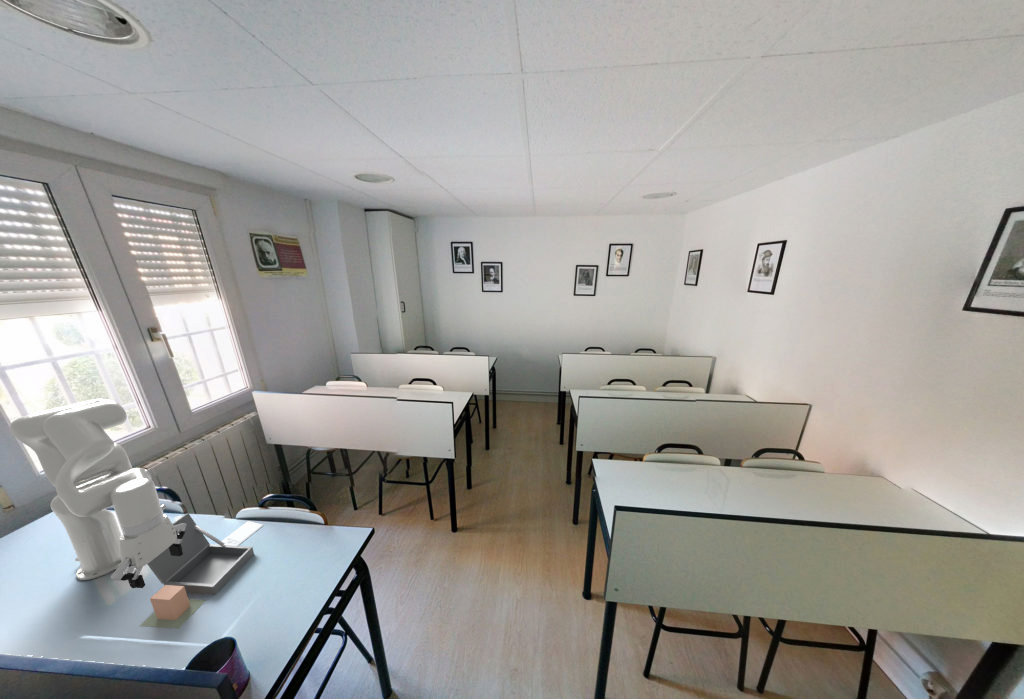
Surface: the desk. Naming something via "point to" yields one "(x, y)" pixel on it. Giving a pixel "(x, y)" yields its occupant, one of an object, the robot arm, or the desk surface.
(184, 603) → the block
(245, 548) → the equipment case
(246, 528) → the external hard drive
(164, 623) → the olive mat
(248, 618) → the desk surface
